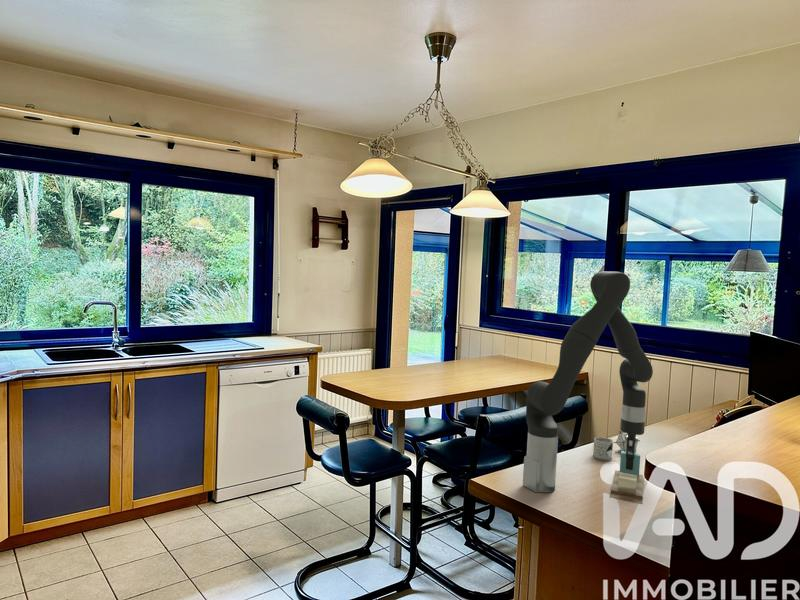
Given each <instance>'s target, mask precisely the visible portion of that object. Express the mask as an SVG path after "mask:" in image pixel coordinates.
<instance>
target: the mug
mask: <svg viewBox="0 0 800 600" xmlns="http://www.w3.org/2000/svg"><path fill="white" fill-rule="evenodd" d="M613 444H614V440H613V439H611V438H608V437H601V436H596V437H594V439H593V452H592V453H593V455H592V456H593V458H595V459H598V460H603V461H610V460H612V459H613V448H614V447H613V446H614V445H613Z"/></svg>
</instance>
